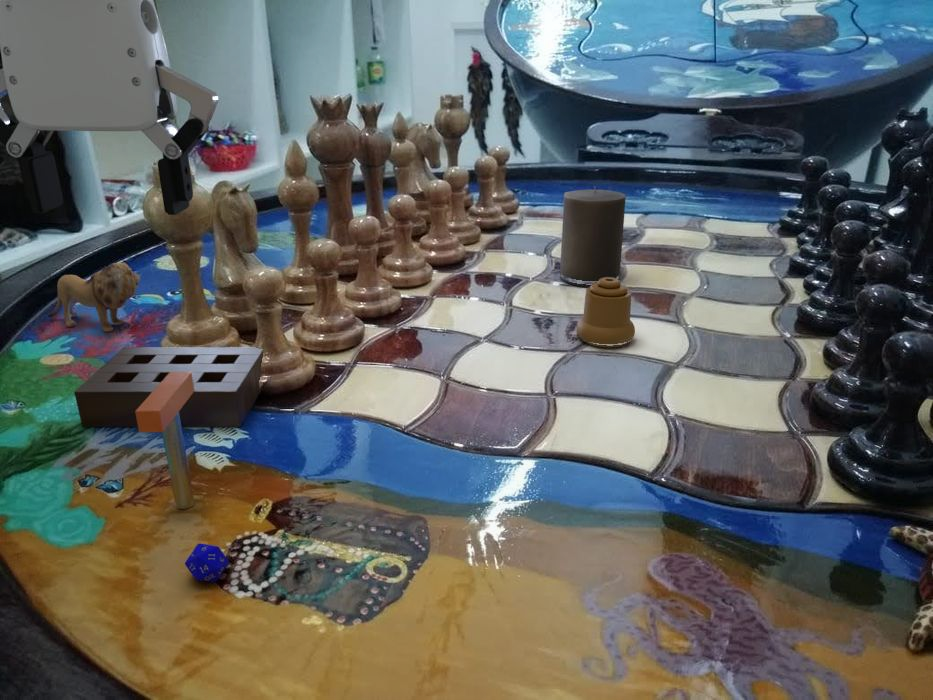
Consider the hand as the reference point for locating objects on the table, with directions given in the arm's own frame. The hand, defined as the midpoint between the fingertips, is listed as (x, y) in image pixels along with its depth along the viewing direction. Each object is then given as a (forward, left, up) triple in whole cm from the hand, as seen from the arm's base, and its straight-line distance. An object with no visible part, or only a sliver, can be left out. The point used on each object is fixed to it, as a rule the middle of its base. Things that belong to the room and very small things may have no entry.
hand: (113, 210), depth 55 cm
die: (+8, -12, -25) cm, 28 cm away
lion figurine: (-24, +40, -25) cm, 52 cm away
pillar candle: (+47, +60, -25) cm, 80 cm away
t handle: (+3, -3, -24) cm, 25 cm away
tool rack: (-4, +16, -24) cm, 29 cm away
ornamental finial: (+45, +34, -25) cm, 61 cm away
